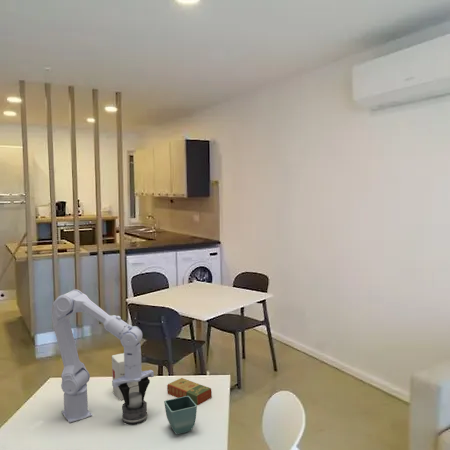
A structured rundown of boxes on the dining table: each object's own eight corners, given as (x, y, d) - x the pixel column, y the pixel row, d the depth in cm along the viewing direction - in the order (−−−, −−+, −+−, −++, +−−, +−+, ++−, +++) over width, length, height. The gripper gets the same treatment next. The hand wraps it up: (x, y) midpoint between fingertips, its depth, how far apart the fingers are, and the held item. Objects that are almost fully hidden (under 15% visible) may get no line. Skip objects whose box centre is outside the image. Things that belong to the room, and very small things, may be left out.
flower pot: (164, 426, 151) (163, 400, 150) (189, 420, 154) (188, 395, 153) (172, 439, 143) (171, 411, 142) (198, 432, 146) (197, 406, 145)
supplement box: (112, 392, 177) (110, 355, 176) (134, 386, 182) (132, 350, 181) (119, 401, 169) (117, 362, 168) (142, 395, 174) (140, 357, 173)
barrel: (118, 417, 157) (117, 403, 157) (140, 410, 162) (140, 396, 162) (128, 427, 150) (128, 413, 150) (151, 419, 155) (151, 405, 155)
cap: (124, 405, 156) (124, 394, 156) (138, 401, 159) (137, 390, 159) (130, 411, 152) (130, 399, 152) (144, 406, 155) (144, 395, 155)
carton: (182, 387, 181) (182, 376, 181) (212, 398, 171) (212, 387, 171) (167, 394, 175) (166, 383, 175) (197, 406, 165) (197, 395, 164)
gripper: (117, 372, 147) (119, 412, 148) (157, 361, 156) (158, 399, 157) (109, 365, 153) (110, 404, 154) (148, 355, 161) (149, 392, 162)
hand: (134, 401), depth 156 cm, fingers closed on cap, 5 cm apart
